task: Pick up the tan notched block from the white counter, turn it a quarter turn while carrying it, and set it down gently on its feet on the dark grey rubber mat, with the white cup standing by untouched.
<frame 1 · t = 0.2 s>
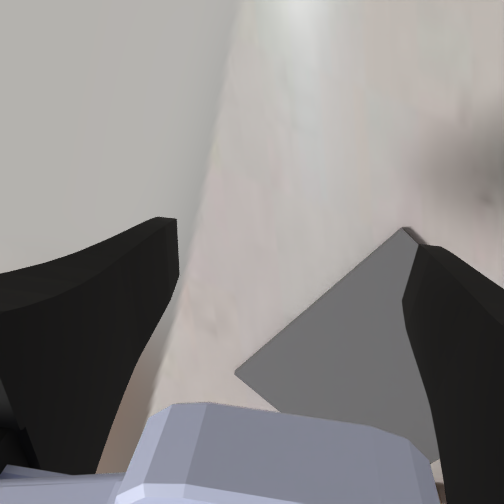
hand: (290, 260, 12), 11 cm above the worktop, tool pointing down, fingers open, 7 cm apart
mat: (388, 376, 25), on the worktop
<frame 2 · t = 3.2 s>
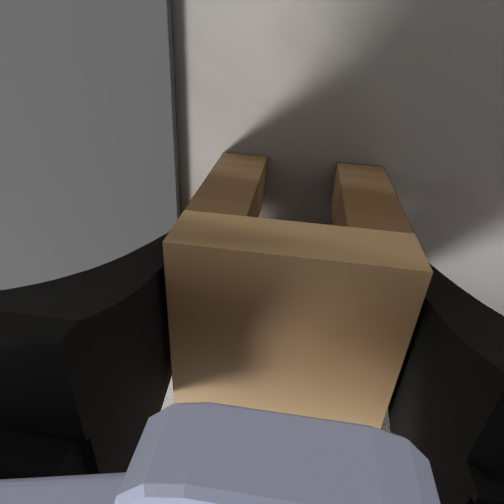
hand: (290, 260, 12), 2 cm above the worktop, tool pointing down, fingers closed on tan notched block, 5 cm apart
tan notched block: (293, 230, 14), on the worktop, touching gripper
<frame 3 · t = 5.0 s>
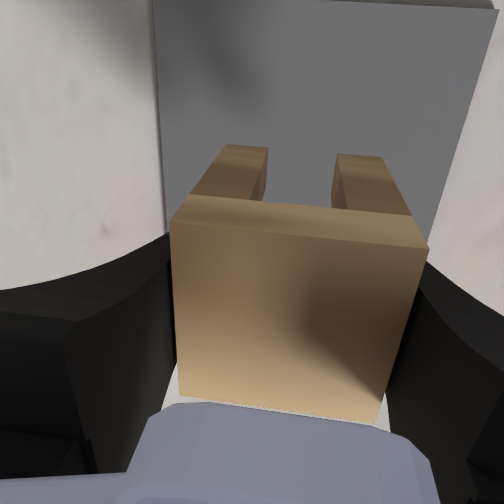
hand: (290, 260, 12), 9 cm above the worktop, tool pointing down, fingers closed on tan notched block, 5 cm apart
mat: (299, 164, 20), on the worktop
tan notched block: (294, 220, 14), point 7 cm above the worktop, touching gripper
when the fingers open (3 cm above the worktop, at t = 6.9 s): tan notched block stays where it is, resting on mat.
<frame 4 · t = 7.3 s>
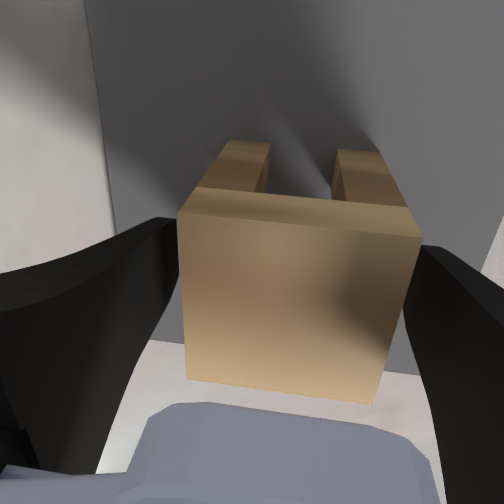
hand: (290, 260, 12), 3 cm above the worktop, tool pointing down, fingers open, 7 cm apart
mat: (295, 213, 15), on the worktop
tan notched block: (295, 213, 15), resting on mat
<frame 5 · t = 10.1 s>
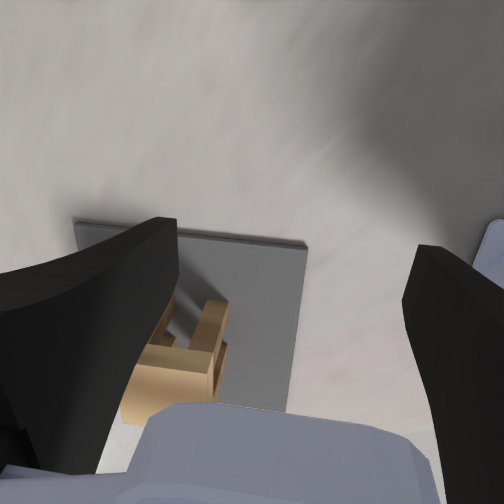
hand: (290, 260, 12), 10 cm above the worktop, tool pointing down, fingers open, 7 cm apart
mat: (192, 325, 27), on the worktop
tan notched block: (191, 327, 27), resting on mat
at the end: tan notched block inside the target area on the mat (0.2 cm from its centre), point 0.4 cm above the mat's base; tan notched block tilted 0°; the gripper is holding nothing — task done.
